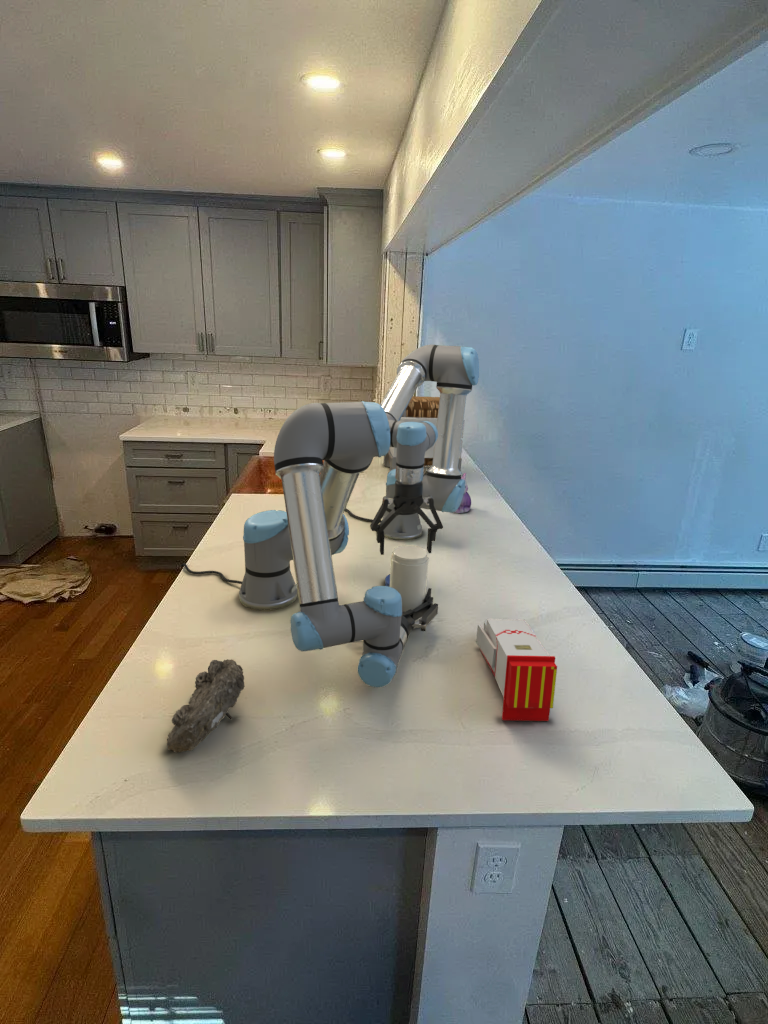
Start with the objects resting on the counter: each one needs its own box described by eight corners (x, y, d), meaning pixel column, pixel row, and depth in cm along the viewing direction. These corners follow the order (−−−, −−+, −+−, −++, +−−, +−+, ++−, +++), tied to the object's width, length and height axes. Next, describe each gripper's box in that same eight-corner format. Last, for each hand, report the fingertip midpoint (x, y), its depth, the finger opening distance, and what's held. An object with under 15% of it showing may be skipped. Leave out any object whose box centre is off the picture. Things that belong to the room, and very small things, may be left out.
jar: (380, 618, 145) (383, 550, 139) (405, 606, 151) (409, 541, 145) (406, 633, 139) (411, 562, 133) (431, 620, 145) (436, 552, 139)
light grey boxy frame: (382, 463, 289) (386, 382, 275) (445, 464, 293) (451, 384, 279) (390, 482, 257) (394, 392, 243) (460, 483, 261) (468, 394, 247)
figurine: (457, 515, 220) (461, 478, 215) (443, 507, 229) (446, 471, 224) (477, 512, 224) (481, 475, 219) (462, 504, 233) (466, 469, 228)
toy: (523, 604, 135) (566, 662, 106) (518, 656, 138) (559, 727, 109) (472, 603, 135) (501, 661, 105) (468, 655, 138) (496, 726, 108)
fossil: (192, 660, 117) (244, 628, 112) (224, 691, 120) (276, 661, 115) (142, 746, 98) (202, 712, 93) (182, 779, 101) (242, 748, 96)
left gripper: (343, 641, 130) (369, 596, 151) (438, 657, 126) (451, 609, 146) (344, 612, 128) (370, 570, 148) (441, 628, 123) (454, 583, 144)
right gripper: (364, 485, 147) (363, 559, 155) (457, 484, 151) (451, 556, 159) (361, 476, 154) (360, 547, 162) (450, 475, 158) (445, 544, 165)
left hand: (410, 590), depth 147 cm, fingers closed on jar, 9 cm apart
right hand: (405, 552), depth 160 cm, fingers open, 13 cm apart
